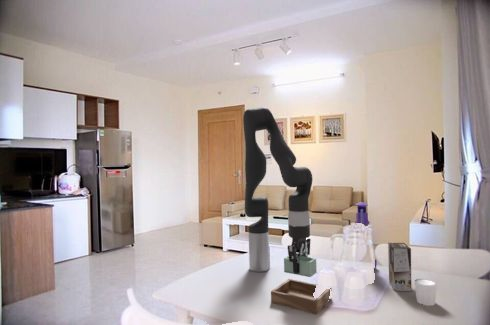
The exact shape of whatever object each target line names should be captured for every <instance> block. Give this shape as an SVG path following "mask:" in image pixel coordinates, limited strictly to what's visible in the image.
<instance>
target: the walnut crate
mask: <svg viewBox="0 0 490 325" xmlns="http://www.w3.org/2000/svg"><path fill="white" fill-rule="evenodd" d="M316 285H317V284H315V283H311V282H307V281H301V280H297V279H293V278H292V279H291V278H288V279H286V280H285V281H284V282H282V283H280V284H279V285H277V286H276V287H275V288H274V289H272V290H271V291H270V303H272V304H276V305H279V306H283V307H287V308H291V309H295V310H299V311H302V312H304V313H305V312H306V313H310V314H314V315H317V314H319V312H320V311H321V310H322V309H323V308H324V307H325V306H326V305H327V304H328V303H329V302H328V300H329V296H330V289H331V290H332V287H331V288H330V289H326V290H325V291H324V292H323V293H322V294H321V295H320V296H319V297H318V298H316V299H315V298H314V296H313V293H314V292H315V288H316ZM327 302H328V303H327ZM326 303H327V304H326Z"/></svg>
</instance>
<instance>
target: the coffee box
mask: <svg viewBox="0 0 490 325" xmlns="http://www.w3.org/2000/svg"><path fill="white" fill-rule="evenodd" d="M387 248H388V252H387V254H388V283H389V284H390V286H391V288H392V289H393V290H394V291H399V292H412V248H411V247H410V246H409V245H407V244H406V243H405V242H388V243H387Z"/></svg>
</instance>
